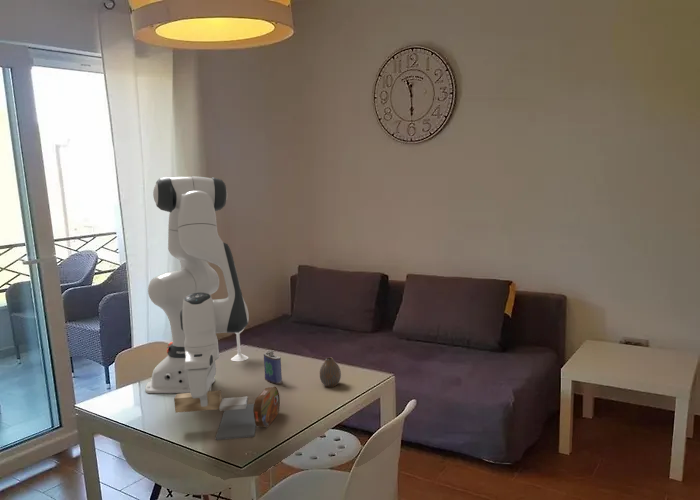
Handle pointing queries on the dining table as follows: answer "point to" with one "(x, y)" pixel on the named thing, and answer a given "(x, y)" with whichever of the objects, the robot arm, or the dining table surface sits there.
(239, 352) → the champagne flute
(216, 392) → the turner
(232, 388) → the dining table surface
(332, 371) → the vase
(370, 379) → the dining table surface
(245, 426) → the mat
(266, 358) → the flask
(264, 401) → the tin
